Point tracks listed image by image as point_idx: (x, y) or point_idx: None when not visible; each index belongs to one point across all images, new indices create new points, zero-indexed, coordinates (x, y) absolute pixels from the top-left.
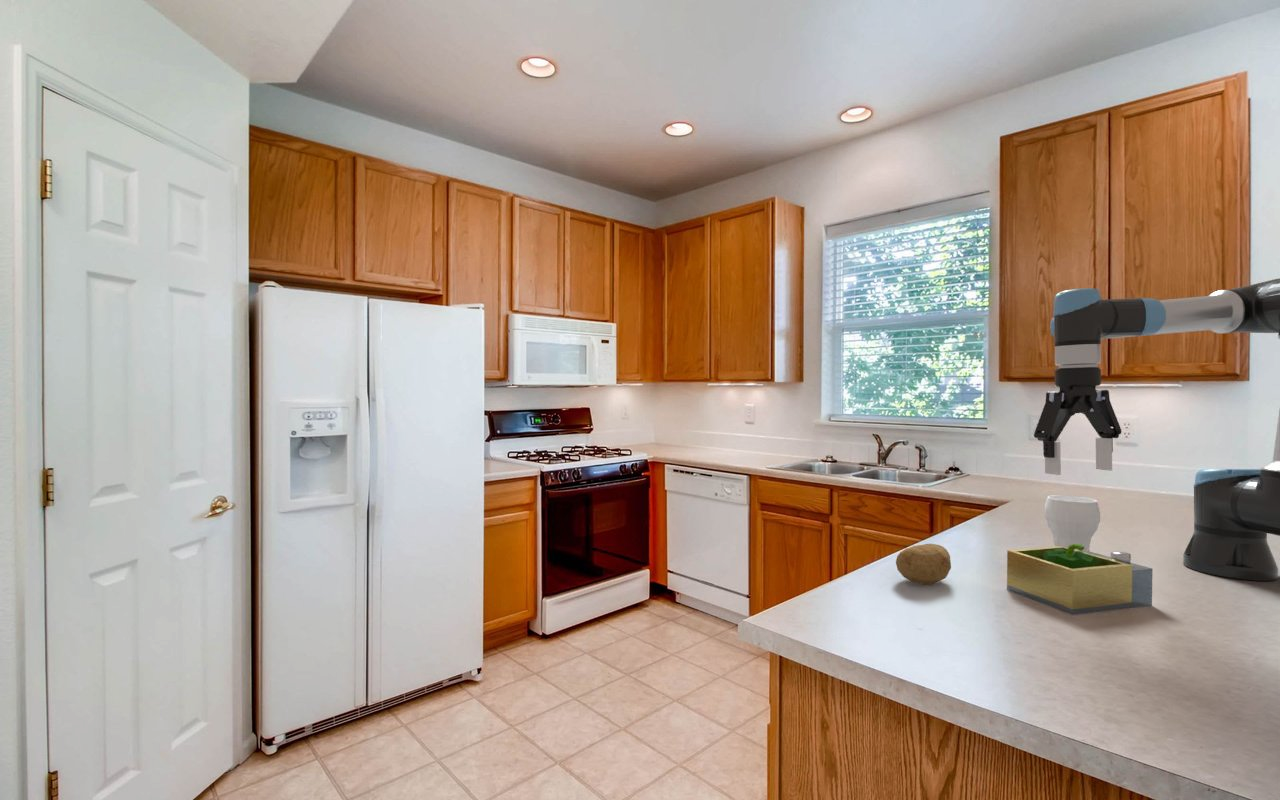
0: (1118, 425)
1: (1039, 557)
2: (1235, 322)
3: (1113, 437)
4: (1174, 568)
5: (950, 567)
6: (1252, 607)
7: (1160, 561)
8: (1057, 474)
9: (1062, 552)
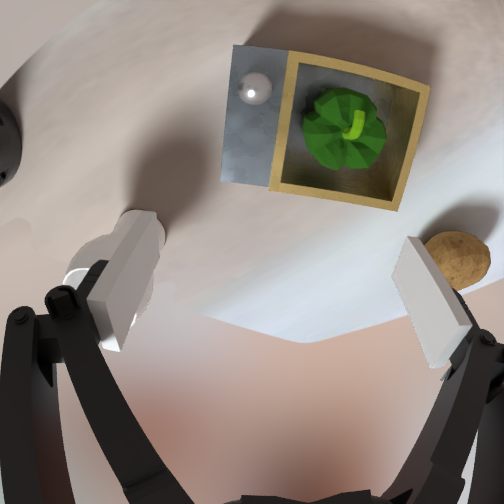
0: (9, 344)
1: (336, 185)
2: None
3: (77, 298)
4: (34, 166)
5: (441, 238)
6: (105, 11)
7: (26, 194)
8: (418, 239)
9: (344, 149)
